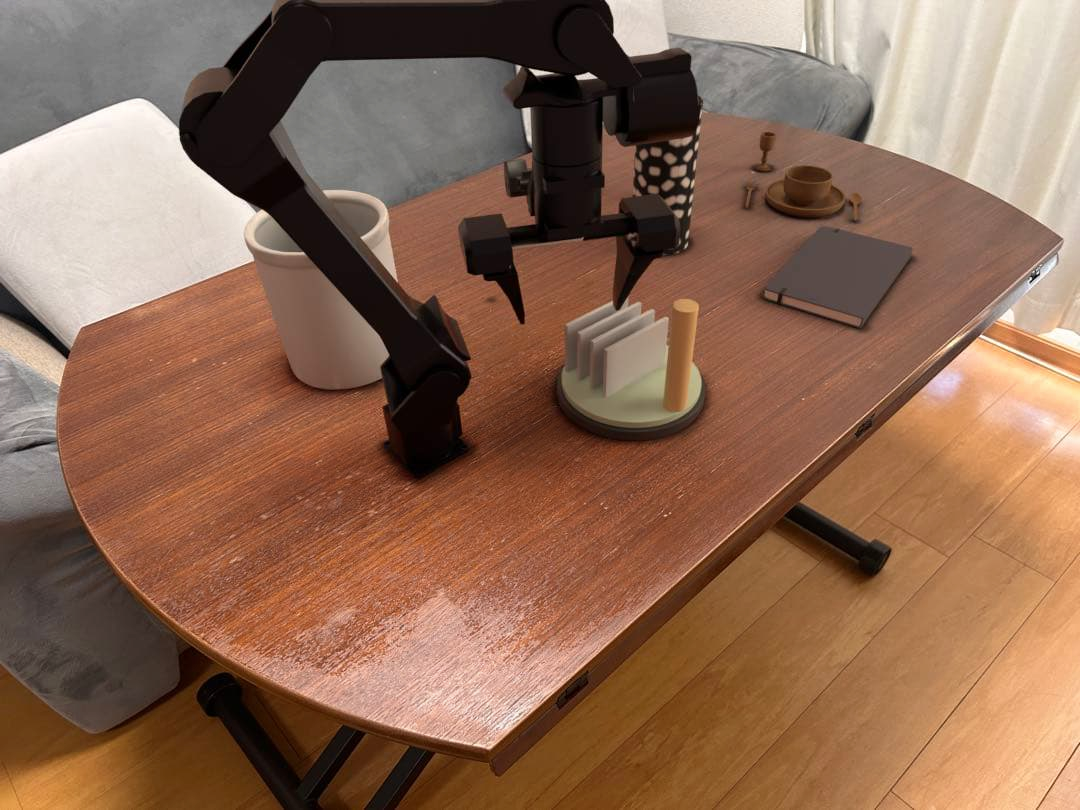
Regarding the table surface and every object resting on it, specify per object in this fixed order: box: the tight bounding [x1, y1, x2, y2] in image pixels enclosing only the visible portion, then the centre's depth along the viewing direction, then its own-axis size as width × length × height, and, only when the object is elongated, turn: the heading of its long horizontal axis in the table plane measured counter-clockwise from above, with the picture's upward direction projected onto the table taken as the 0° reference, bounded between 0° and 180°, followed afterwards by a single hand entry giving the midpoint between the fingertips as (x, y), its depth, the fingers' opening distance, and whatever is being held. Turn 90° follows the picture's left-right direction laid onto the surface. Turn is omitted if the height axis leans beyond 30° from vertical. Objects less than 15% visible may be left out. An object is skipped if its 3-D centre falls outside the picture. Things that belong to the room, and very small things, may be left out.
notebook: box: [762, 225, 914, 329], centre depth 100 cm, size 13×2×21 cm
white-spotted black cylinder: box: [632, 95, 704, 256], centre depth 103 cm, size 8×8×20 cm
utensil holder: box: [243, 189, 399, 391], centre depth 84 cm, size 15×15×18 cm
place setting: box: [745, 131, 863, 221], centre depth 119 cm, size 18×20×6 cm
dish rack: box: [562, 296, 701, 428], centre depth 78 cm, size 15×15×13 cm
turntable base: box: [556, 364, 706, 441], centre depth 83 cm, size 16×16×1 cm
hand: (569, 315), depth 72 cm, fingers open, 9 cm apart
